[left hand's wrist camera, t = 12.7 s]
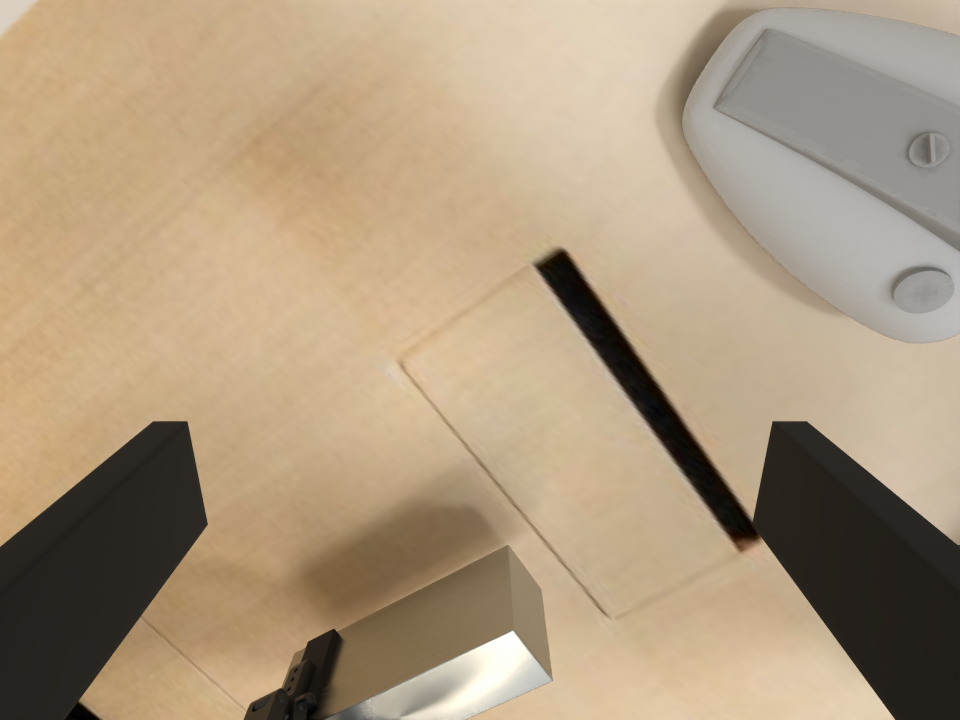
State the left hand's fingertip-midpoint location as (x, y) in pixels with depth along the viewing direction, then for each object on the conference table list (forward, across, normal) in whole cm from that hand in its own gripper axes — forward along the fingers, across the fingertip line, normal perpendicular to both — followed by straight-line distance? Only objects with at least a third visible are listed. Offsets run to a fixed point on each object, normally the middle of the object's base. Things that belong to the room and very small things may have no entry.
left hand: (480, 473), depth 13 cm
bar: (+25, -5, -30) cm, 39 cm away
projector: (+30, +24, +6) cm, 39 cm away
